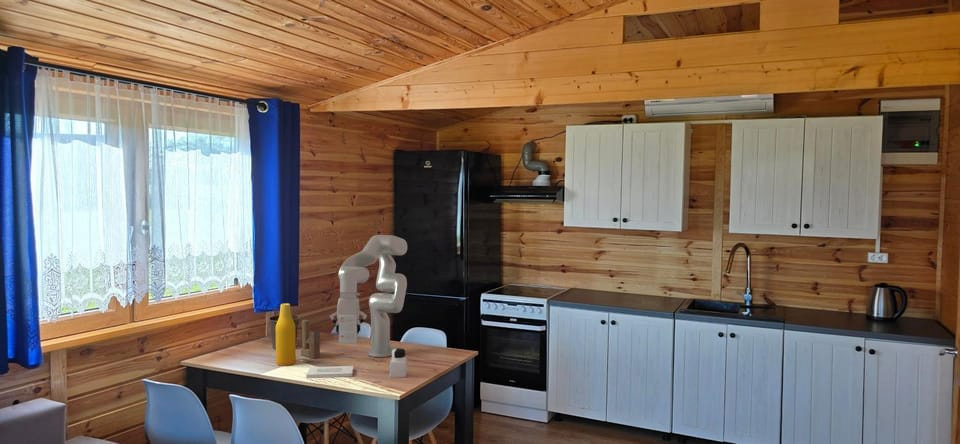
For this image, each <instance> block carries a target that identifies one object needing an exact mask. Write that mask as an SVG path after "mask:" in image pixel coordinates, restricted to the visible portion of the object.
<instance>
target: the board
mask: <svg viewBox="0 0 960 444" xmlns="http://www.w3.org/2000/svg"><path fill="white" fill-rule="evenodd" d="M353 372H354V365H341V366H339V365H338V366H335V365H334V366H310V367H309V369H308V371H307V372H306V374H305V375H306V376H305V377H306V378H307V379H313V378H314V379H317V378H344V377H345V378H349V377H350V378H351V377H353Z"/></svg>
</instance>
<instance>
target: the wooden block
mask: <svg viewBox="0 0 960 444" xmlns="http://www.w3.org/2000/svg"><path fill="white" fill-rule="evenodd" d="M301 335H302V336H301V339H302V342H301V345H302V347H301V348H300V356H302V357H306V358H311V359H319V358H321V338H320V335H321V330H320V329H317V330H316V329H315V330H314V331H313V332H312V333H311V334H310V320H309V319H303V320H301Z"/></svg>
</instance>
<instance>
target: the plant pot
mask: <svg viewBox="0 0 960 444" xmlns="http://www.w3.org/2000/svg"><path fill="white" fill-rule="evenodd" d="M279 316H280V314H279V315H278V314H276V315H271V316H269V317H268V318H267V321H268V323H269V327H270V334H271V344H272V349H274V350H276V324H277V321H278V319H279ZM291 317H292V319H293V321H294V323H295V345H296V346H297V344H298V343H297V342H298V341H297V340H298V327H299V324H300V323H299V322H300V319H301V316H299V315H297V314H291Z"/></svg>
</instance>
